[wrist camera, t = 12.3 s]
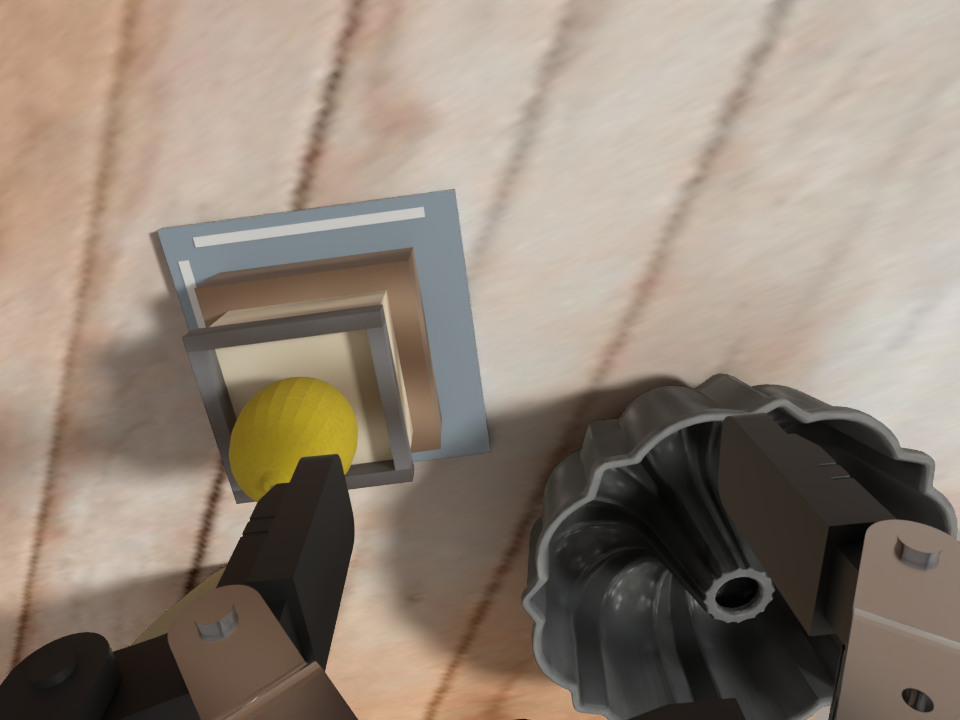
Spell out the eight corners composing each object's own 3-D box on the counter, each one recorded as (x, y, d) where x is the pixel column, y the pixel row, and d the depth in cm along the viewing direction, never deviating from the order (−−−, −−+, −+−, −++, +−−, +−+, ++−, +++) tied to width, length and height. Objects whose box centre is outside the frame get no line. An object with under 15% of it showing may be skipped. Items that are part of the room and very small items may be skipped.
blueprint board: (163, 228, 37) (156, 230, 36) (454, 189, 36) (454, 190, 36) (242, 478, 43) (238, 485, 42) (489, 446, 43) (490, 452, 42)
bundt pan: (879, 574, 49) (978, 679, 39) (574, 671, 51) (599, 792, 42) (825, 280, 39) (939, 328, 30) (456, 419, 42) (456, 502, 33)
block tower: (220, 272, 37) (149, 316, 28) (413, 246, 37) (400, 283, 28) (269, 442, 41) (221, 524, 33) (442, 419, 41) (438, 497, 33)
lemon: (302, 464, 33) (257, 564, 25) (240, 384, 31) (172, 466, 24) (388, 420, 32) (367, 508, 25) (329, 334, 30) (288, 403, 23)
